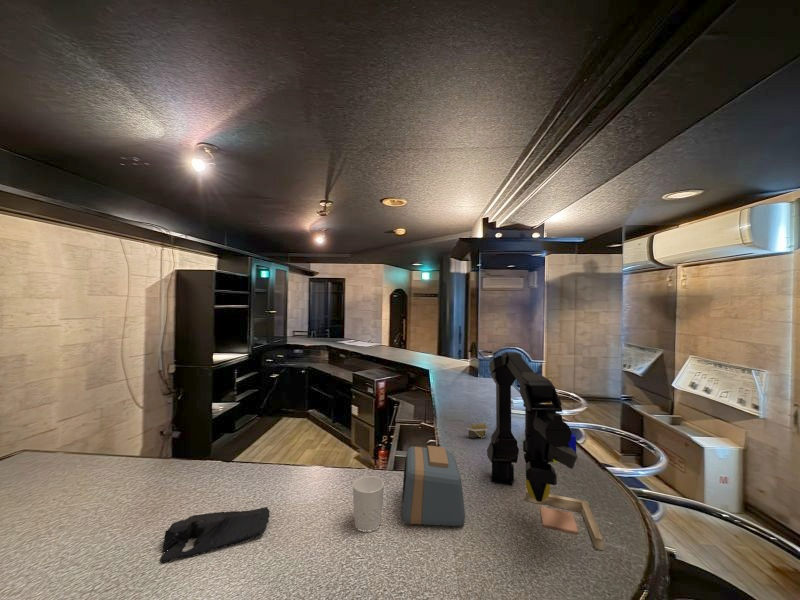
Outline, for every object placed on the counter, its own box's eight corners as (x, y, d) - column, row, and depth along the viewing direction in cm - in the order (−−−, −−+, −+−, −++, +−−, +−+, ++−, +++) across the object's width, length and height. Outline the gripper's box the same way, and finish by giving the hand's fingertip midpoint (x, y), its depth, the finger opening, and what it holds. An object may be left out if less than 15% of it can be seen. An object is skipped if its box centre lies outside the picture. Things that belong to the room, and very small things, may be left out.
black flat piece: (264, 547, 71) (265, 526, 71) (151, 569, 65) (152, 545, 65) (272, 508, 86) (272, 490, 86) (180, 522, 79) (181, 503, 80)
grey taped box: (403, 491, 94) (404, 438, 95) (456, 493, 94) (457, 439, 95) (401, 528, 78) (402, 463, 79) (466, 530, 77) (467, 465, 78)
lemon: (526, 504, 75) (525, 471, 75) (525, 493, 80) (525, 461, 80) (551, 510, 73) (551, 475, 73) (549, 498, 78) (549, 465, 78)
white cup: (358, 538, 74) (359, 495, 74) (348, 519, 81) (349, 479, 81) (388, 528, 78) (388, 487, 78) (375, 510, 85) (376, 473, 85)
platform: (503, 443, 133) (503, 427, 133) (464, 446, 129) (464, 430, 129) (489, 433, 144) (489, 418, 145) (453, 435, 141) (453, 420, 141)
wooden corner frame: (529, 533, 77) (529, 523, 77) (525, 498, 92) (525, 489, 92) (603, 550, 71) (602, 539, 71) (586, 510, 86) (586, 500, 87)
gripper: (582, 450, 66) (583, 526, 65) (567, 422, 83) (567, 482, 82) (526, 442, 69) (526, 514, 69) (522, 417, 87) (523, 474, 86)
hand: (538, 494), depth 76 cm, fingers closed on lemon, 5 cm apart
